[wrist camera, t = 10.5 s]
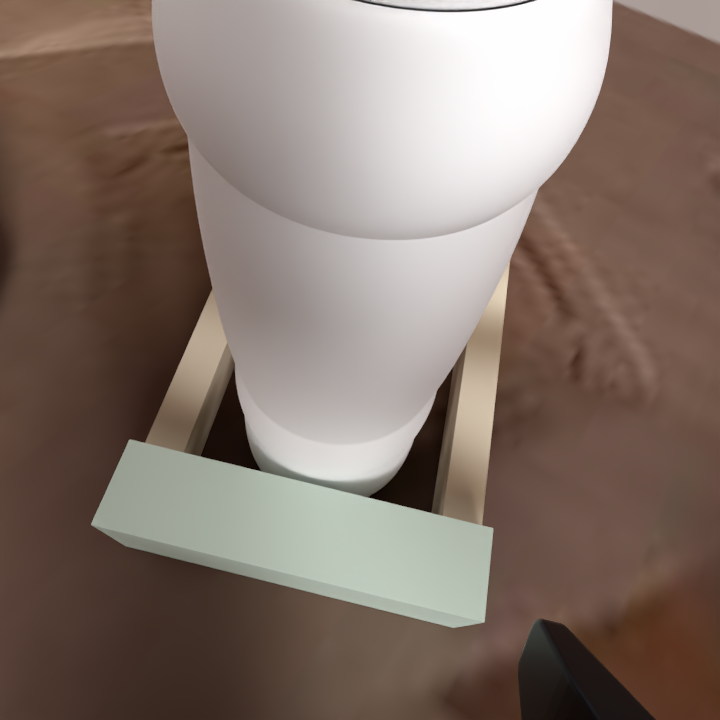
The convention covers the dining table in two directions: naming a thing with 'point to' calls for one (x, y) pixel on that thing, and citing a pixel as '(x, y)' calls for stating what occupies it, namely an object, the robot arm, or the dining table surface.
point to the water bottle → (366, 196)
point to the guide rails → (462, 425)
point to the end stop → (298, 535)
